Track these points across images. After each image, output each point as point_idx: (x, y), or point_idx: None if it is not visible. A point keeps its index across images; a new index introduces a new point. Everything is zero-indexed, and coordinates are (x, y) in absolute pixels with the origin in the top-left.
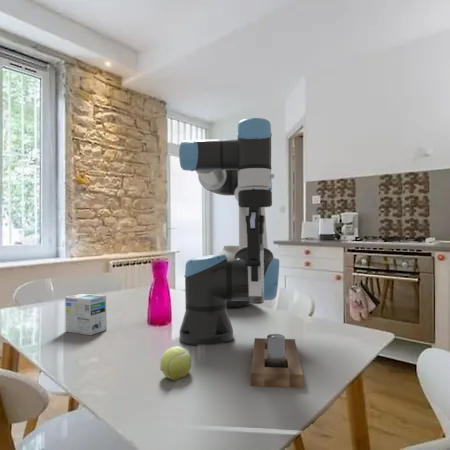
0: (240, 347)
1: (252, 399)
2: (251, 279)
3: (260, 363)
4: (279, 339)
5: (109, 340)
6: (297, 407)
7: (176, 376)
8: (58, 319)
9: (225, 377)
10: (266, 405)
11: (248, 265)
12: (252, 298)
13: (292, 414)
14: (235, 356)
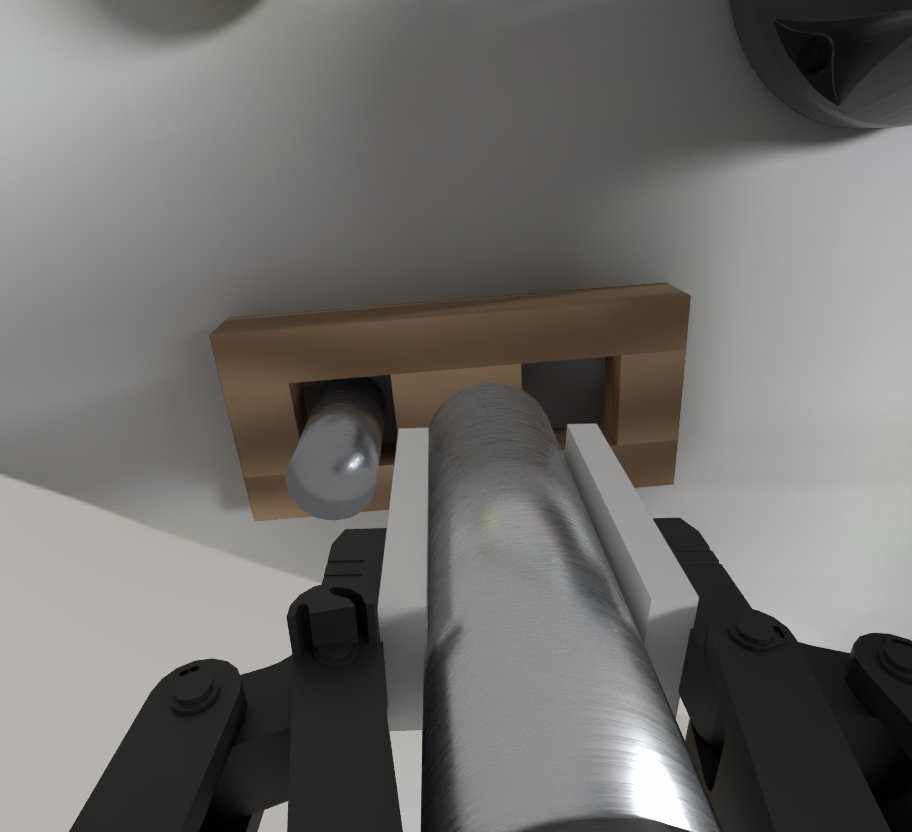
0: (707, 200)
1: (141, 335)
2: (335, 544)
3: (326, 363)
4: (294, 499)
5: None
6: (141, 476)
7: None
8: None
9: (304, 193)
10: (116, 385)
11: (304, 631)
12: (429, 440)
13: (91, 463)
14: (570, 195)
